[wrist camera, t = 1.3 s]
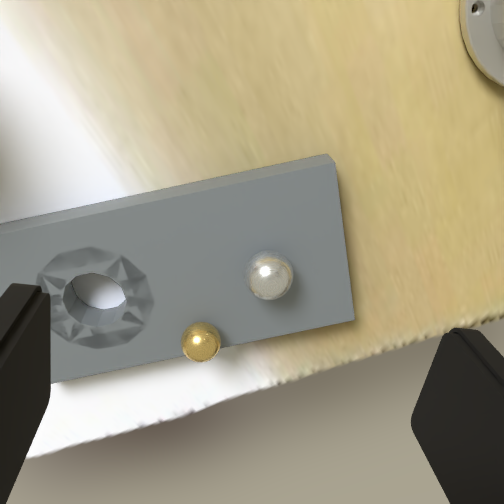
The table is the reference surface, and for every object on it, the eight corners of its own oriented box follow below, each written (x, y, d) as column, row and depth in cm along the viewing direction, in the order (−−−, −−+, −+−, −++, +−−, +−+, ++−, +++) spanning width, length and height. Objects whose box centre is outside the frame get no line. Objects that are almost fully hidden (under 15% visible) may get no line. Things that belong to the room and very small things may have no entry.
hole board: (327, 153, 35) (335, 162, 33) (346, 303, 40) (354, 319, 38) (-21, 228, 35) (-37, 242, 33) (46, 367, 41) (36, 386, 38)
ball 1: (215, 310, 37) (216, 332, 34) (224, 342, 38) (225, 365, 35) (177, 318, 37) (174, 341, 34) (187, 349, 38) (185, 374, 35)
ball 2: (285, 238, 35) (292, 258, 31) (293, 279, 36) (300, 303, 33) (237, 248, 35) (240, 269, 32) (247, 289, 36) (250, 314, 33)
